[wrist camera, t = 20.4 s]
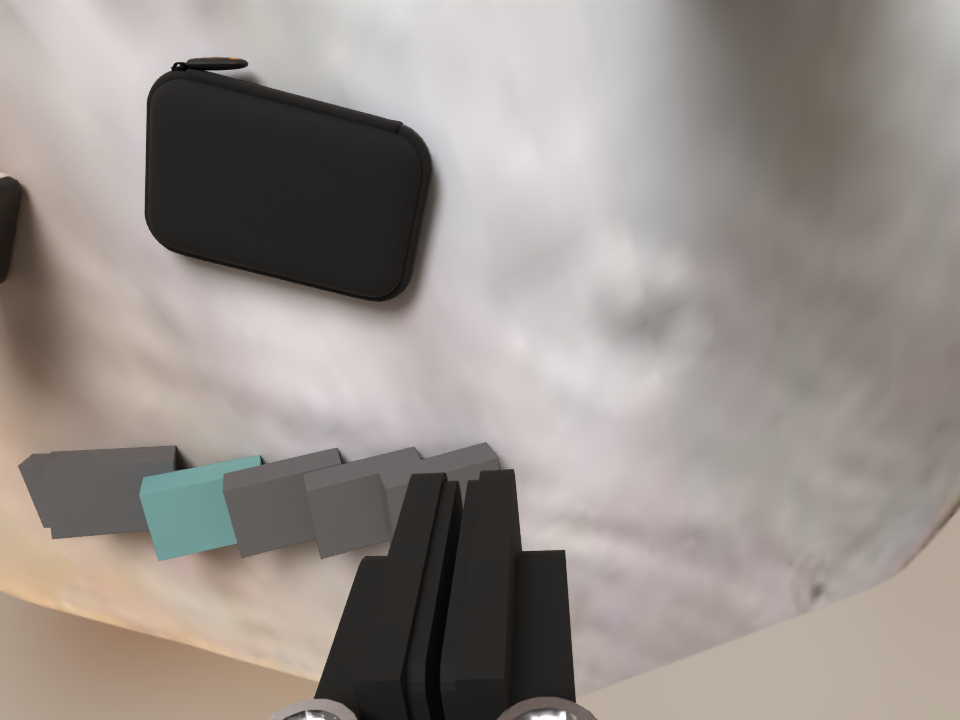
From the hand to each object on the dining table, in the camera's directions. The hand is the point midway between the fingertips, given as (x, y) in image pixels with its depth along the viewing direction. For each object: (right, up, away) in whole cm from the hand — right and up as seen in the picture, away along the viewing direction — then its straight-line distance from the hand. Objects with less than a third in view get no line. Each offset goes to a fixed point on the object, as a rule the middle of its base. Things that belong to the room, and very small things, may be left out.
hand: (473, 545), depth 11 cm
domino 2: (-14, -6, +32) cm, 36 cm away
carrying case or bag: (-10, +13, +25) cm, 30 cm away
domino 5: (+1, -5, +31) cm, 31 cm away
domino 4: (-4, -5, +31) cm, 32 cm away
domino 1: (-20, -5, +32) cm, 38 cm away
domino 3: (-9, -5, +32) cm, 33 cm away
